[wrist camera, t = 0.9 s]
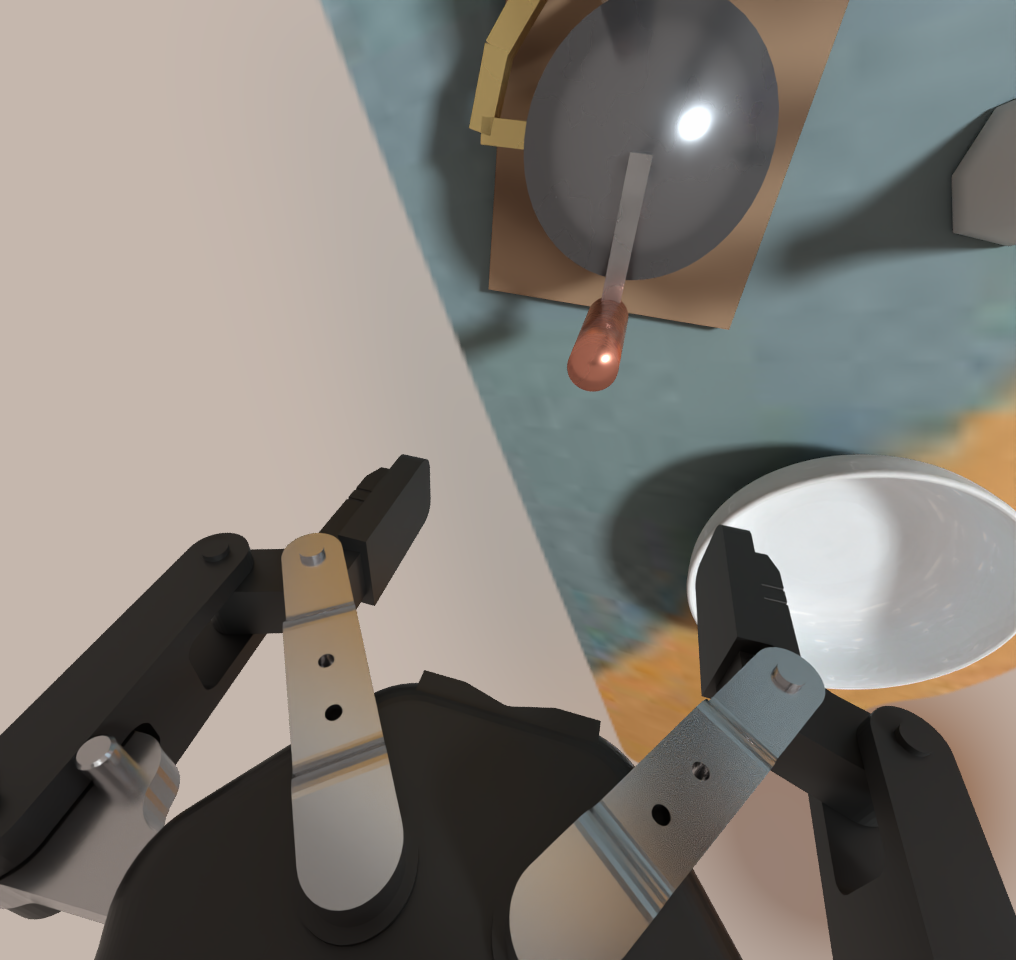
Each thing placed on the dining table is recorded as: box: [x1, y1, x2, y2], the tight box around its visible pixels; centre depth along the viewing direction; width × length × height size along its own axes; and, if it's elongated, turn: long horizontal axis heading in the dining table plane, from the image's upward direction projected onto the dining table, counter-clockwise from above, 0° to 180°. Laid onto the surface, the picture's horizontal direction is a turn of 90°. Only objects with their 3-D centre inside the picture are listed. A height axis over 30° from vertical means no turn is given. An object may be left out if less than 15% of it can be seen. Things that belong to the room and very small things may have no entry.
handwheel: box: [469, 0, 779, 391], centre depth 22 cm, size 18×15×13 cm
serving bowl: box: [687, 454, 1016, 689], centre depth 37 cm, size 21×21×7 cm
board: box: [489, 0, 849, 330], centre depth 26 cm, size 22×16×1 cm
